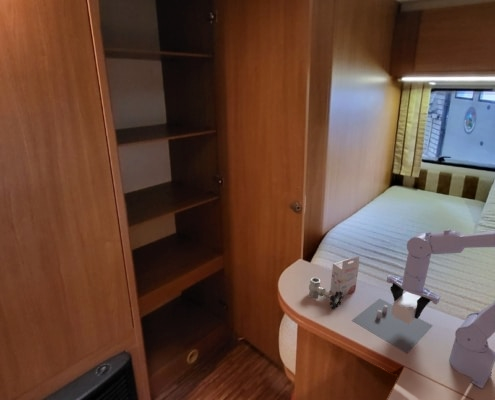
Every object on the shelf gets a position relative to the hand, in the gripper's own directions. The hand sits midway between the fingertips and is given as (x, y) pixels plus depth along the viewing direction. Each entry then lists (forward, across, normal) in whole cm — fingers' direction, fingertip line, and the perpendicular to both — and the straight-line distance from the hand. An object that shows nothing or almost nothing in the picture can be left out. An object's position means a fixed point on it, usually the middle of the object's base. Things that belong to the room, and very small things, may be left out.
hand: (407, 311), depth 99 cm
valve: (+9, +26, +6) cm, 28 cm away
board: (+8, +4, -1) cm, 9 cm away
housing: (0, 0, 0) cm, 0 cm away
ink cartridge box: (+8, +25, -5) cm, 27 cm away
